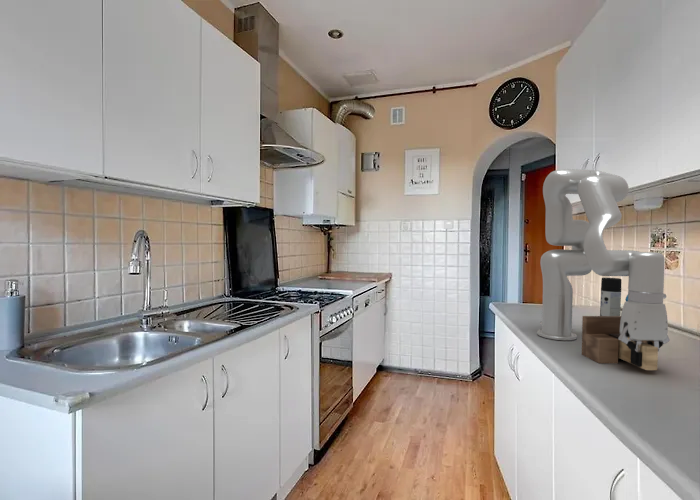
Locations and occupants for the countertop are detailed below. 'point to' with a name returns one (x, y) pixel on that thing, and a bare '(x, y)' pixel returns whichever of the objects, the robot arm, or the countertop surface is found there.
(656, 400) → the countertop surface
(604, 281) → the spray can
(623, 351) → the silver and tan rail
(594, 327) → the wooden two-prong bracket
